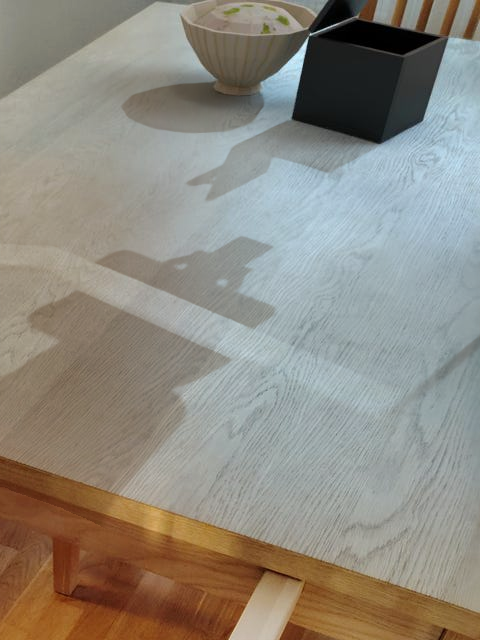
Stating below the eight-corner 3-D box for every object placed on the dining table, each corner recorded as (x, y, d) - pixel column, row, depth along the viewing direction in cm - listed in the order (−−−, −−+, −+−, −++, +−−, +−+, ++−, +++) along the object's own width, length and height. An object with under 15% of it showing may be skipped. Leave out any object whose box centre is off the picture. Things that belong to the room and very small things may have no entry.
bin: (423, 120, 121) (449, 37, 114) (380, 143, 116) (404, 57, 109) (335, 97, 128) (354, 17, 120) (291, 118, 122) (308, 35, 115)
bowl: (172, 64, 138) (181, -14, 131) (300, 68, 136) (317, -11, 129) (169, 107, 126) (179, 23, 118) (310, 113, 124) (329, 28, 116)
